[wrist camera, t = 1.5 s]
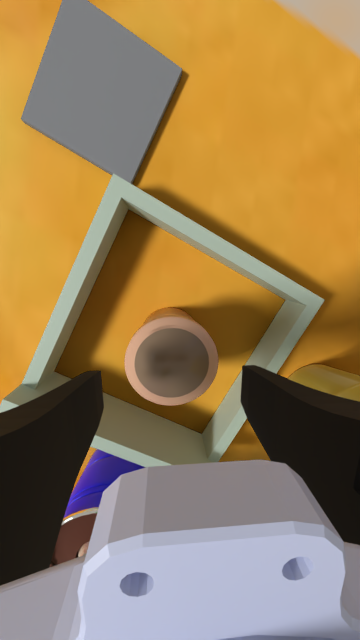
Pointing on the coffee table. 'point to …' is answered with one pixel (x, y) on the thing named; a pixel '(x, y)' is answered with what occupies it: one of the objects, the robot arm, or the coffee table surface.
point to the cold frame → (124, 418)
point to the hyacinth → (87, 504)
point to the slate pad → (100, 90)
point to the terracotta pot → (171, 358)
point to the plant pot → (329, 380)
